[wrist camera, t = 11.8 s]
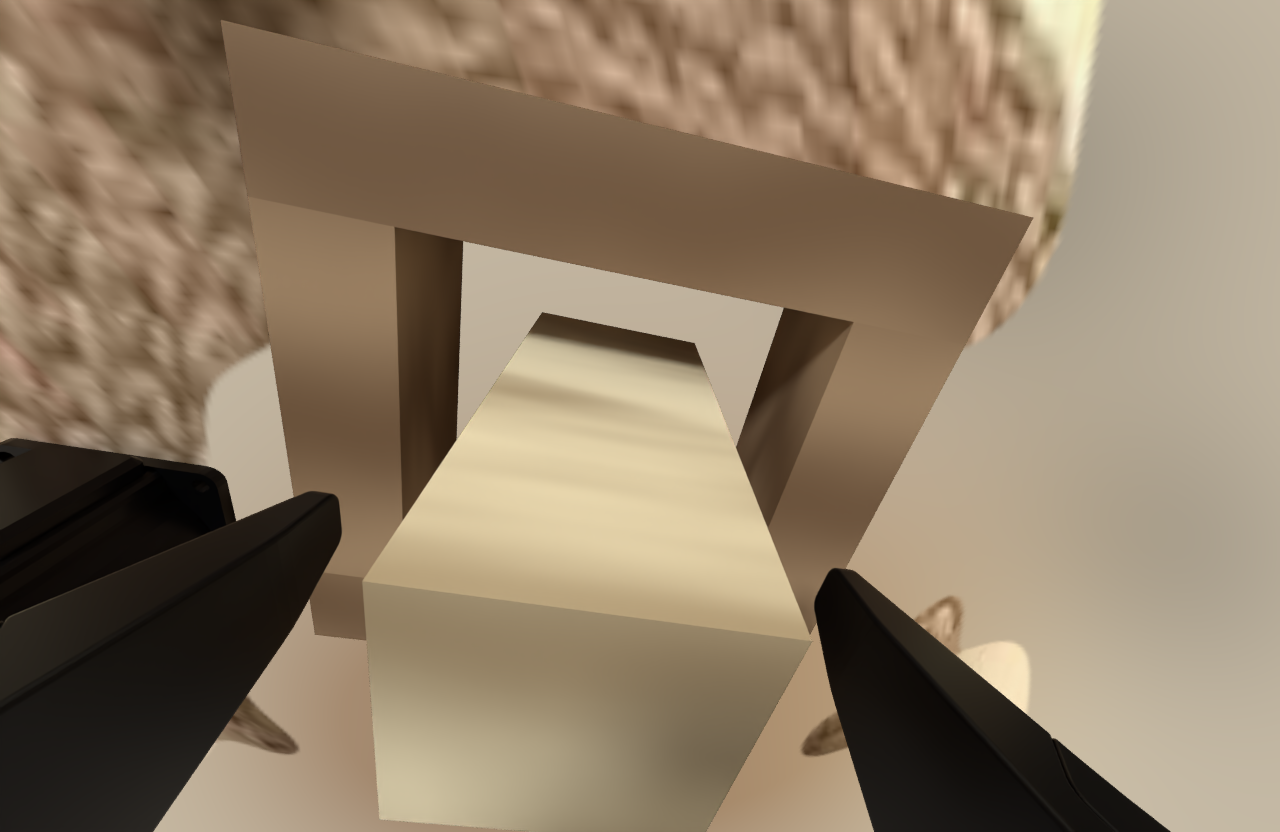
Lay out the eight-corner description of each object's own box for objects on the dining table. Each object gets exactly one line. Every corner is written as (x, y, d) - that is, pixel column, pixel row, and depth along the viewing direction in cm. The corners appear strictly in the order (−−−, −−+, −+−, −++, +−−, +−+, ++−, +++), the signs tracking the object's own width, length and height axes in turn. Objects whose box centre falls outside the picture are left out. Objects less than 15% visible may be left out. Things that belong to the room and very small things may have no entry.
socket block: (751, 589, 18) (781, 687, 15) (382, 538, 17) (315, 634, 13) (915, 207, 12) (1033, 218, 9) (356, 73, 11) (220, 19, 7)
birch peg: (659, 468, 16) (698, 845, 7) (526, 445, 15) (379, 819, 6) (694, 342, 14) (812, 641, 5) (542, 312, 13) (362, 581, 4)
